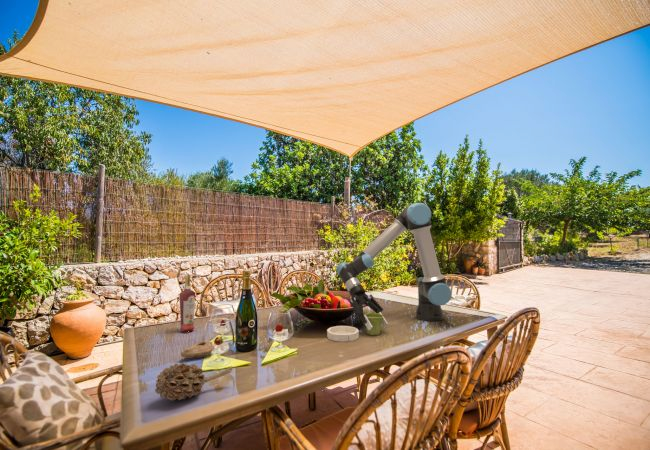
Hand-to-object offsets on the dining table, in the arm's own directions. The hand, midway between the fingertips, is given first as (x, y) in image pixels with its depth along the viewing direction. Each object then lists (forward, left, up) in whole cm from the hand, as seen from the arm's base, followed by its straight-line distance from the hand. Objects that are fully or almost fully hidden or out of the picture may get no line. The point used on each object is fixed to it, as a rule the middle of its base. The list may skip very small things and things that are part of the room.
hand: (378, 326), depth 148 cm
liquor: (+87, +37, -4) cm, 94 cm away
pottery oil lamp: (+54, +58, -4) cm, 79 cm away
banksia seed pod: (+29, +78, -4) cm, 84 cm away
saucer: (+14, +10, -4) cm, 17 cm away
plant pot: (+3, -1, -4) cm, 5 cm away
